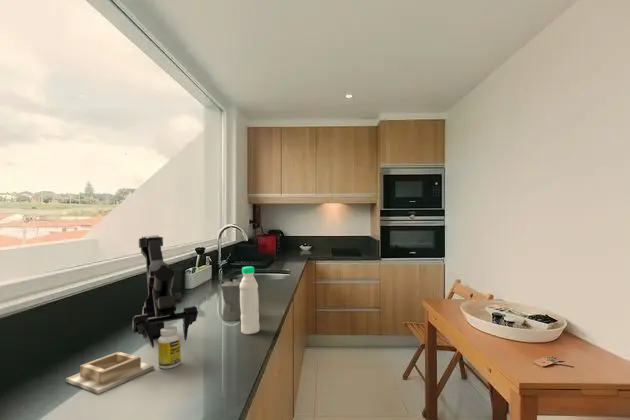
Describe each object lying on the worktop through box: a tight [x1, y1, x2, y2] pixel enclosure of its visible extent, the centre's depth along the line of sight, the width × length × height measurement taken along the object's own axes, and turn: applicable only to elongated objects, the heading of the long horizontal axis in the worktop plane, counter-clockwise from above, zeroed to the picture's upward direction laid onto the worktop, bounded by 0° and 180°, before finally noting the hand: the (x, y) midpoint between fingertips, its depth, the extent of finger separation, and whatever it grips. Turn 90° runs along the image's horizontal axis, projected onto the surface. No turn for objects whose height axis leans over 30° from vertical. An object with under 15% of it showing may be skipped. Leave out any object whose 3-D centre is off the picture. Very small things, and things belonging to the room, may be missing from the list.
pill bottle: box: [157, 325, 181, 370], centre depth 106 cm, size 6×6×11 cm
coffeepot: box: [220, 276, 242, 322], centre depth 155 cm, size 15×9×18 cm, turn 44°
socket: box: [65, 351, 155, 395], centre depth 100 cm, size 16×16×4 cm
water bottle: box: [239, 265, 261, 335], centre depth 134 cm, size 7×7×25 cm
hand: (169, 343), depth 105 cm, fingers open, 9 cm apart
